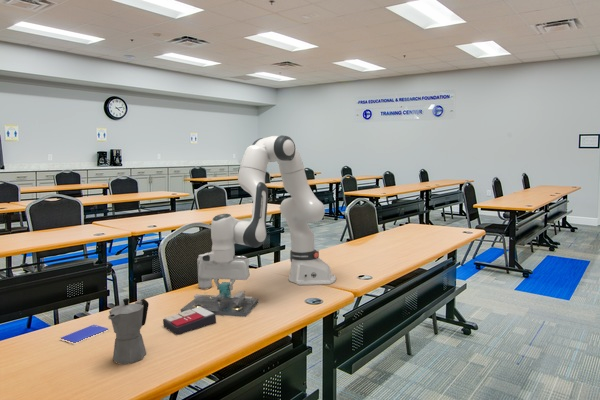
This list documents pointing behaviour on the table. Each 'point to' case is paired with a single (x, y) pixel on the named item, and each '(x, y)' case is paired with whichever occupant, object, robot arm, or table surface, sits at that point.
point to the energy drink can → (203, 282)
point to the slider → (223, 292)
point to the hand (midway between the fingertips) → (224, 289)
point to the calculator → (189, 320)
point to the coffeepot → (129, 331)
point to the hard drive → (84, 333)
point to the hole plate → (224, 304)
